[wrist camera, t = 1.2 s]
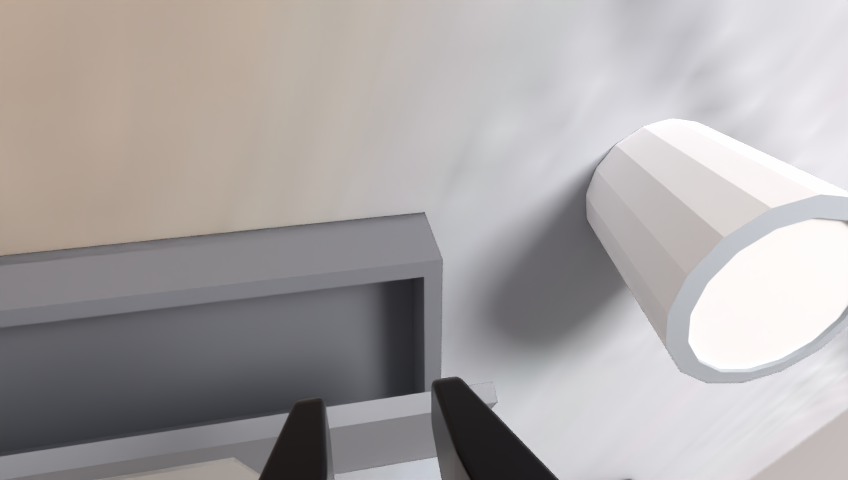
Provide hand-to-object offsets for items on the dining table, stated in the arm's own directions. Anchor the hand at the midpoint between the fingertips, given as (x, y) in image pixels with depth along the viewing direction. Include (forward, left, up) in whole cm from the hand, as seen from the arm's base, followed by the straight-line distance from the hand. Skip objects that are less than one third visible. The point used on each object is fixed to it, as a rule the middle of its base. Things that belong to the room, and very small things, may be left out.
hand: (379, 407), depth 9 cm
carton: (-8, +7, -12) cm, 16 cm away
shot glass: (-4, -12, -12) cm, 18 cm away
